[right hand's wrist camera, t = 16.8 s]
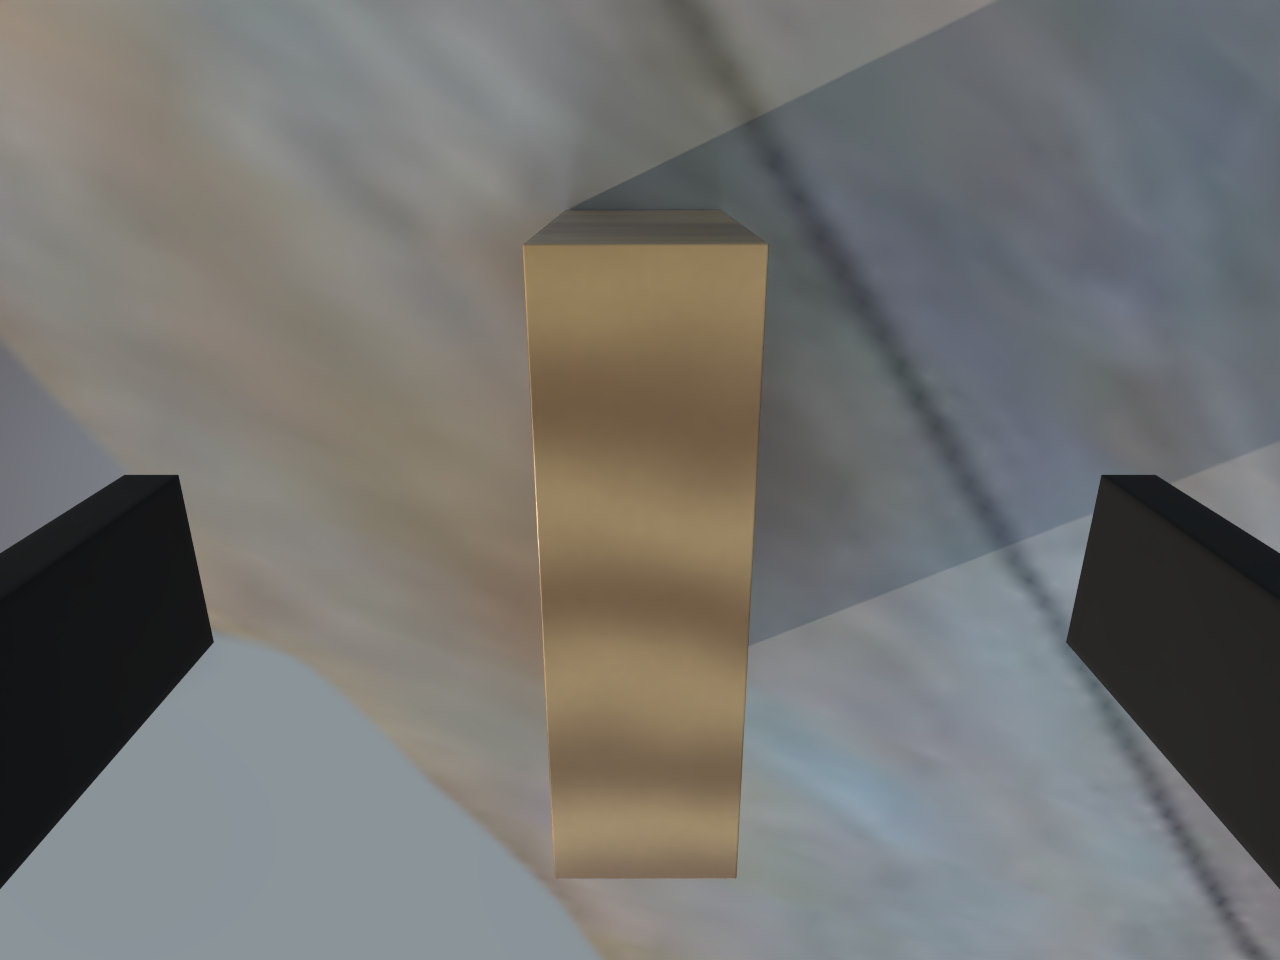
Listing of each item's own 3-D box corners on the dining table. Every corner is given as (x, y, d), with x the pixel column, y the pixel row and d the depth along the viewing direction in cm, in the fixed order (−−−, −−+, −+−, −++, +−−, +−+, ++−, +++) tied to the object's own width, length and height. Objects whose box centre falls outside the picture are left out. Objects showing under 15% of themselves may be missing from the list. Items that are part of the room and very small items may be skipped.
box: (565, 210, 33) (522, 244, 21) (721, 209, 33) (769, 243, 21) (579, 663, 40) (554, 880, 28) (707, 663, 40) (736, 879, 28)
